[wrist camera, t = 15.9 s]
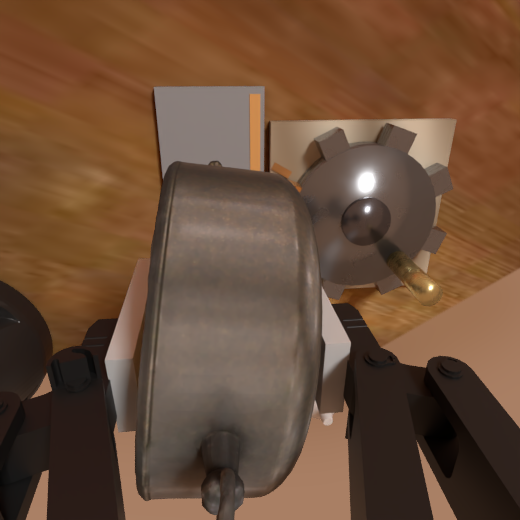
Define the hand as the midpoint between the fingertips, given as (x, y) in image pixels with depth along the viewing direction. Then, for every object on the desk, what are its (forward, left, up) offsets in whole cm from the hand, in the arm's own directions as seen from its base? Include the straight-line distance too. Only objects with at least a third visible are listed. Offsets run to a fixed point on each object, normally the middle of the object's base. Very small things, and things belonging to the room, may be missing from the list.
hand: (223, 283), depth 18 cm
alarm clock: (0, 0, -3) cm, 3 cm away
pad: (0, 0, -18) cm, 18 cm away
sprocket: (+12, -3, -17) cm, 21 cm away
